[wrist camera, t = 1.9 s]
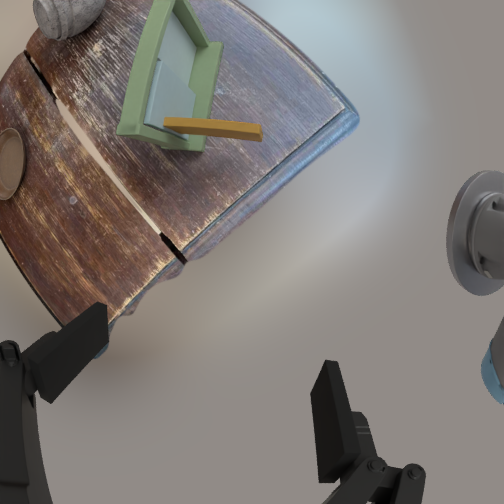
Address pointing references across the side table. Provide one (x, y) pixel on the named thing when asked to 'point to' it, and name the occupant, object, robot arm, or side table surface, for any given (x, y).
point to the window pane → (187, 111)
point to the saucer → (11, 162)
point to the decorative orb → (66, 16)
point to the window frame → (180, 62)
